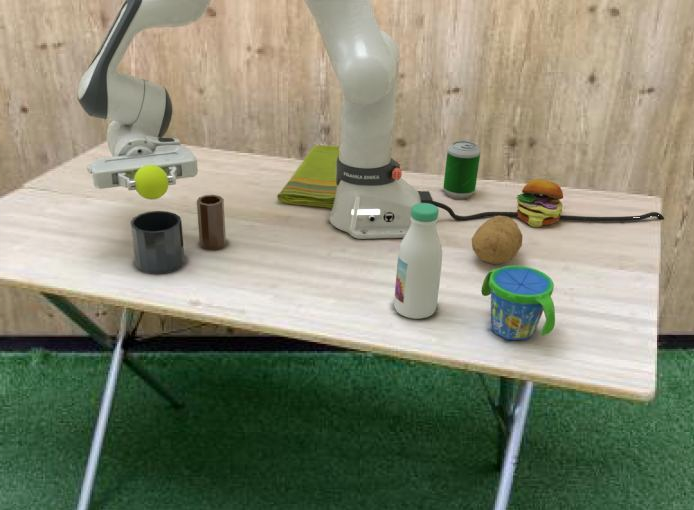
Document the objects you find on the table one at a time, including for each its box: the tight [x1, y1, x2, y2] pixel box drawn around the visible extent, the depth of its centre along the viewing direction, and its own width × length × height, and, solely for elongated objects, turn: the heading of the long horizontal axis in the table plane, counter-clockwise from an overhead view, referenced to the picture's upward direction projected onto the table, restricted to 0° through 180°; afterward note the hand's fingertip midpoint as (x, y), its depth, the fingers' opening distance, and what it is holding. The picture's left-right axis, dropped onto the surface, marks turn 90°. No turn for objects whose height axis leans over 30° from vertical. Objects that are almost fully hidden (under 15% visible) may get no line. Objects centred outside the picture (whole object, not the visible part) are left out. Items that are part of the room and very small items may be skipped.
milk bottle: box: [393, 203, 443, 320], centre depth 138 cm, size 8×8×20 cm
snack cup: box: [480, 265, 556, 341], centre depth 135 cm, size 16×10×10 cm
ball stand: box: [196, 194, 227, 251], centre depth 161 cm, size 5×5×10 cm
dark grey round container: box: [130, 210, 186, 275], centre depth 155 cm, size 10×10×9 cm
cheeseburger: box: [515, 178, 564, 228], centre depth 175 cm, size 10×11×10 cm
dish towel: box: [276, 144, 339, 209], centre depth 193 cm, size 15×36×3 cm, turn 166°
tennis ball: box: [134, 165, 169, 200], centre depth 148 cm, size 6×6×6 cm
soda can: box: [442, 140, 481, 200], centre depth 184 cm, size 8×8×12 cm
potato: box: [471, 215, 523, 265], centre depth 158 cm, size 10×14×8 cm
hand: (152, 183), depth 147 cm, fingers closed on tennis ball, 6 cm apart
